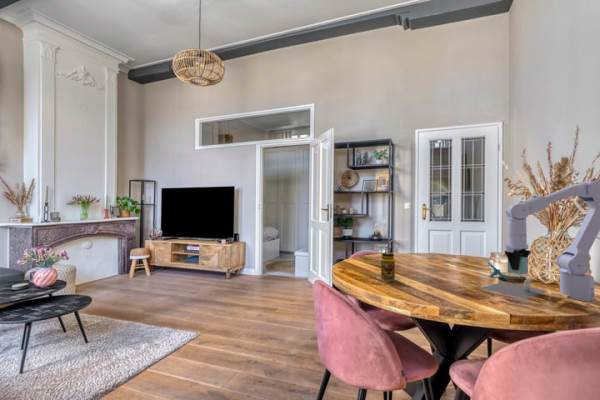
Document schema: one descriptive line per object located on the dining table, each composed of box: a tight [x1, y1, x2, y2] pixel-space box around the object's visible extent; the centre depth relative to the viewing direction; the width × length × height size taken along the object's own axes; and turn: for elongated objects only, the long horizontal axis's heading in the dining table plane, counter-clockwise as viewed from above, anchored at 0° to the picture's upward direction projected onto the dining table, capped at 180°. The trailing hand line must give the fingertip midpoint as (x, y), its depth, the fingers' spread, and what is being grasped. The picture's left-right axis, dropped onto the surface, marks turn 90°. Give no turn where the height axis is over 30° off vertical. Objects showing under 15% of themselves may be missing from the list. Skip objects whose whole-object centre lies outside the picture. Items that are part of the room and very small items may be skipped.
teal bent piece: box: [487, 262, 508, 280], centre depth 142 cm, size 11×6×10 cm
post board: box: [480, 279, 546, 300], centre depth 121 cm, size 16×18×5 cm
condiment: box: [374, 252, 400, 282], centre depth 142 cm, size 7×8×12 cm
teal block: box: [507, 257, 529, 275], centre depth 120 cm, size 5×5×6 cm
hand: (518, 269), depth 120 cm, fingers closed on teal block, 5 cm apart
